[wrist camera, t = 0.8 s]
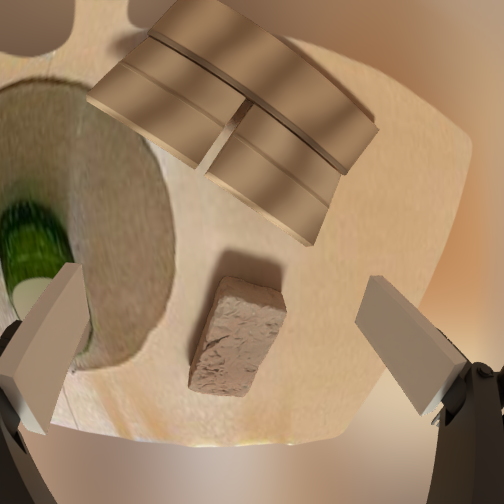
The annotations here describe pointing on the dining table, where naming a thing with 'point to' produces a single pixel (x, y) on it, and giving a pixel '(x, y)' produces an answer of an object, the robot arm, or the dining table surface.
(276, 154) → the plank
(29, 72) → the dining table surface
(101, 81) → the plank
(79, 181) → the dining table surface
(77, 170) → the dining table surface
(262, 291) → the brick
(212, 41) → the floorboard
